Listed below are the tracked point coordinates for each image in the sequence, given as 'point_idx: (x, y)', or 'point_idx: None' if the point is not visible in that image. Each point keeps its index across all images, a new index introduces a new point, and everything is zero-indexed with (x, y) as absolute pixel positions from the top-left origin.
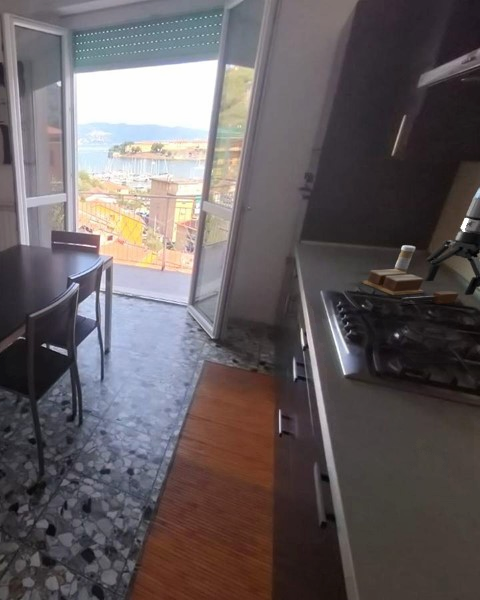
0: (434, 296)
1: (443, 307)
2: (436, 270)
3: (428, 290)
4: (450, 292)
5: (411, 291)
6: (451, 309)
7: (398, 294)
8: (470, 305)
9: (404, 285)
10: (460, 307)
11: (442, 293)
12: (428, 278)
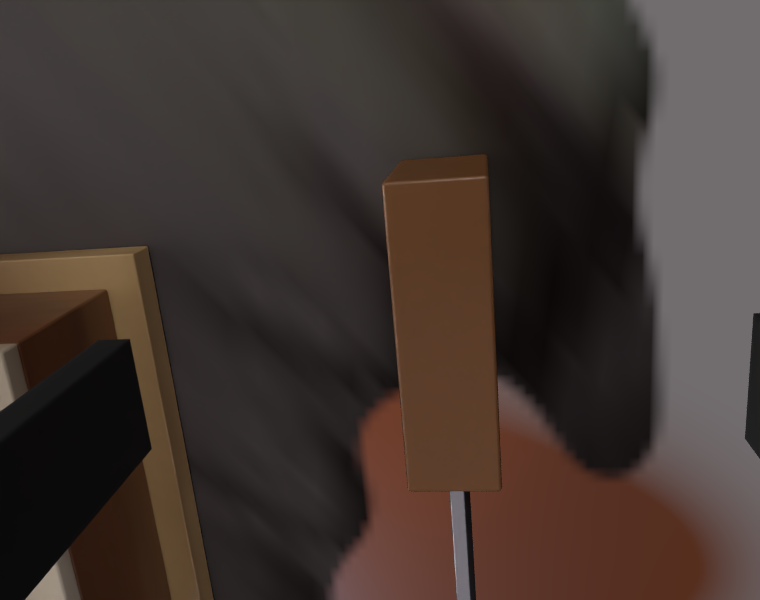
0: (466, 506)
1: (592, 432)
2: (19, 471)
3: (43, 63)
4: (444, 281)
5: (163, 429)
6: (660, 400)
7: (206, 566)
8: (593, 5)
9: (119, 568)
10: (628, 226)
11: (469, 438)
12: (128, 475)
